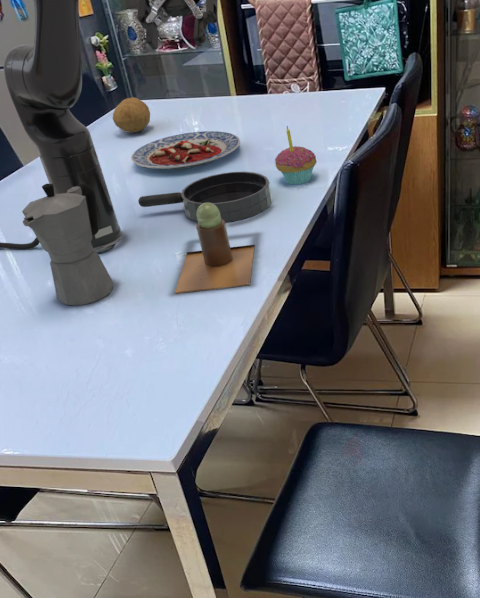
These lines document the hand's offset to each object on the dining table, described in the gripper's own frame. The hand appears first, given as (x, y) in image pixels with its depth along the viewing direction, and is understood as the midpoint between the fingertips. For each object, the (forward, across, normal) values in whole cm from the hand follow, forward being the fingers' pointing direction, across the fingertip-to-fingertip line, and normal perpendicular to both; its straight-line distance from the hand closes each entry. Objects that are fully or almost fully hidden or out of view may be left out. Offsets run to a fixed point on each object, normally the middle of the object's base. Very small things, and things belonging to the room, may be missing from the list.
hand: (175, 45), depth 125 cm
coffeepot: (+46, -9, -5) cm, 47 cm away
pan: (+23, +5, +18) cm, 29 cm away
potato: (-18, -39, +59) cm, 73 cm away
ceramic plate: (-1, -15, +42) cm, 44 cm away
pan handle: (+23, -7, +14) cm, 28 cm away
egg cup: (+39, +10, +1) cm, 41 cm away
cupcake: (+14, +16, +27) cm, 35 cm away
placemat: (+40, +10, +1) cm, 41 cm away
